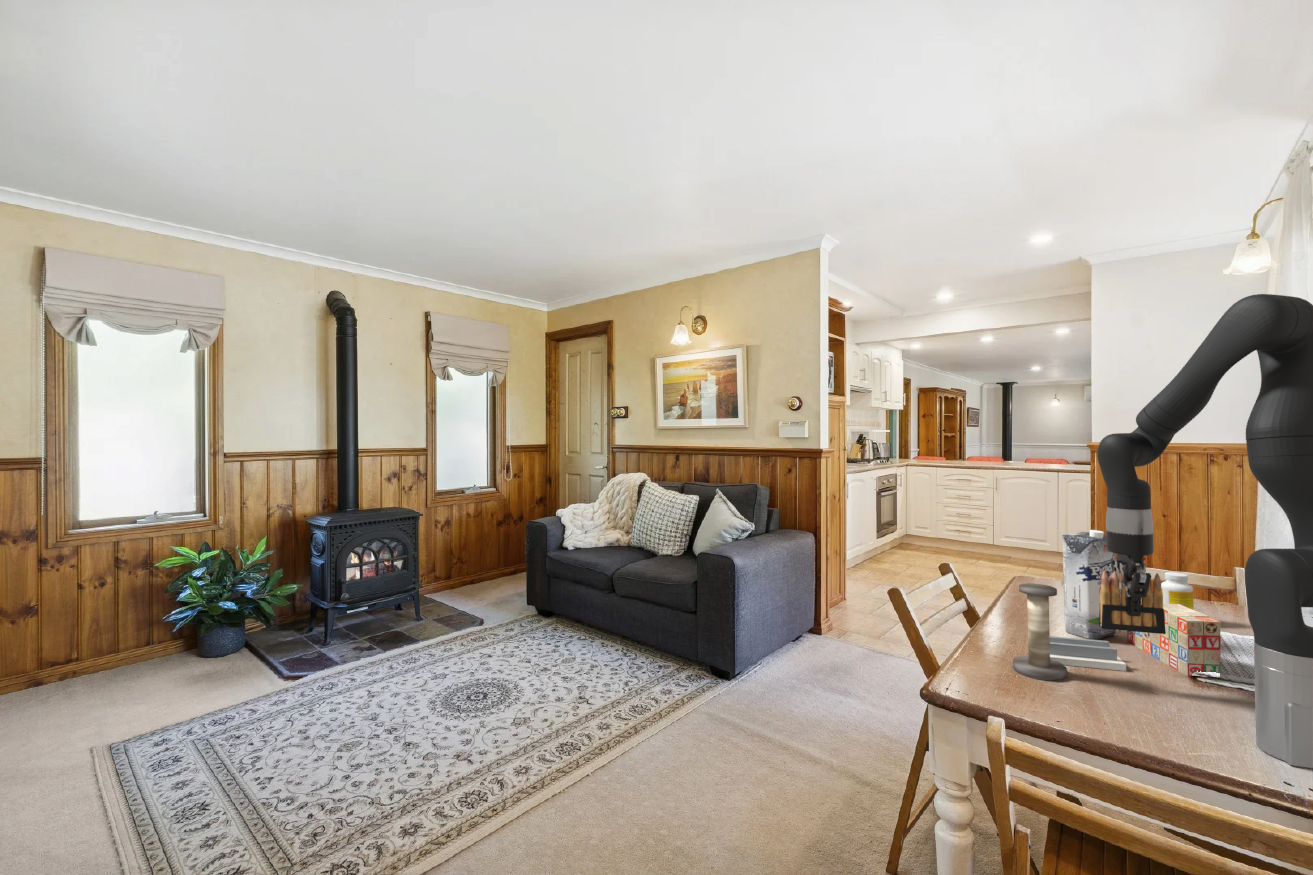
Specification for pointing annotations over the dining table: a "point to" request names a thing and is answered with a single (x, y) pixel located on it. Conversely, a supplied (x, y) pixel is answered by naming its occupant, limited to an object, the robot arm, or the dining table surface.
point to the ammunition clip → (1115, 608)
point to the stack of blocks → (1184, 641)
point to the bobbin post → (1039, 637)
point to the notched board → (1085, 653)
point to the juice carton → (1085, 582)
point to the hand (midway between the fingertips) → (1131, 613)
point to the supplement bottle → (1177, 590)
